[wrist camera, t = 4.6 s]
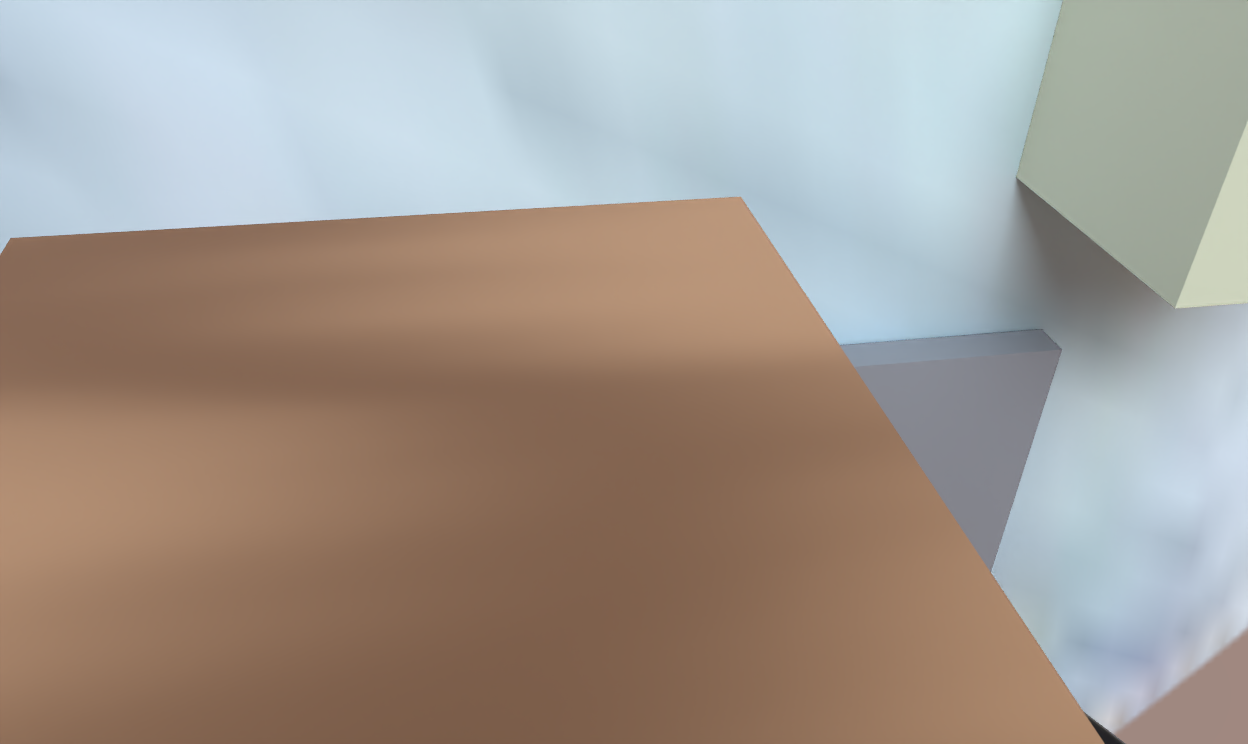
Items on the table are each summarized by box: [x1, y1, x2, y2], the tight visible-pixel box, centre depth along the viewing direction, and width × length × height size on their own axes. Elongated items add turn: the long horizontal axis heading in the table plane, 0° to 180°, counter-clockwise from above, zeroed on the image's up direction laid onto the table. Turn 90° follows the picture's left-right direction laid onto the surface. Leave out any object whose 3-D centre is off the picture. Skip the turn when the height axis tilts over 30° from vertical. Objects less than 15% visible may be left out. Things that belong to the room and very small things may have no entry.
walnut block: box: [0, 197, 1104, 744], centre depth 7 cm, size 5×5×5 cm
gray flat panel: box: [840, 329, 1062, 572], centre depth 24 cm, size 20×14×1 cm
